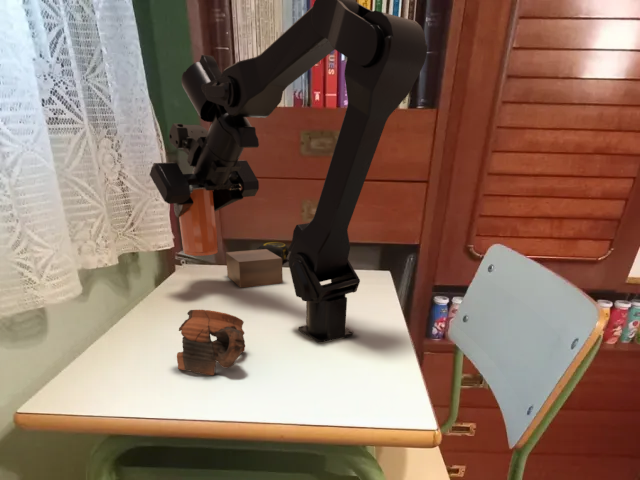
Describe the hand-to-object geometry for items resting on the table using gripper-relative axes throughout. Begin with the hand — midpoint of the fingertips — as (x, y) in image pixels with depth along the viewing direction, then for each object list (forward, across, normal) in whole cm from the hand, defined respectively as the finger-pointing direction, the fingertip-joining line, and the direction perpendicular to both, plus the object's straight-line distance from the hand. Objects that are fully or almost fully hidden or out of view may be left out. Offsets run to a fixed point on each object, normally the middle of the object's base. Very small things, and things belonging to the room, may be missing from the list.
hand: (193, 213), depth 89 cm
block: (+7, -11, +12) cm, 18 cm away
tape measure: (+14, -24, +5) cm, 29 cm away
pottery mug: (-13, +19, +33) cm, 40 cm away
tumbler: (+4, 0, +6) cm, 7 cm away
